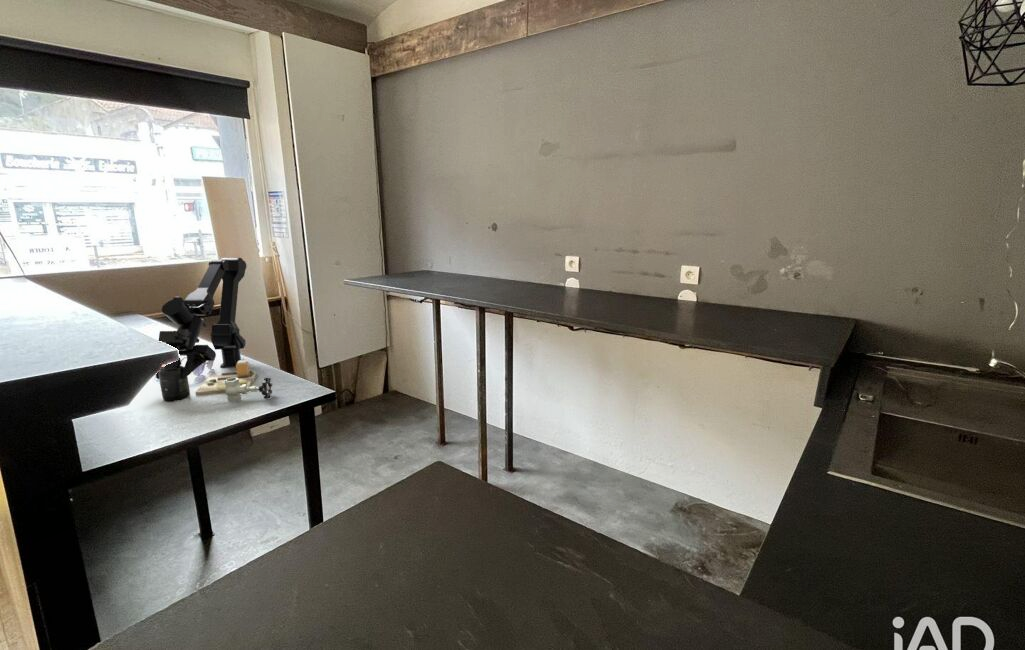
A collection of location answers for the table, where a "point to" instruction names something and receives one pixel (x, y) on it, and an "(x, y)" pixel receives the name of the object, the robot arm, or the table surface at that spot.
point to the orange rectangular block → (242, 368)
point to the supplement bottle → (173, 382)
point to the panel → (223, 383)
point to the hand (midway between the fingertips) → (170, 378)
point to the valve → (245, 389)
